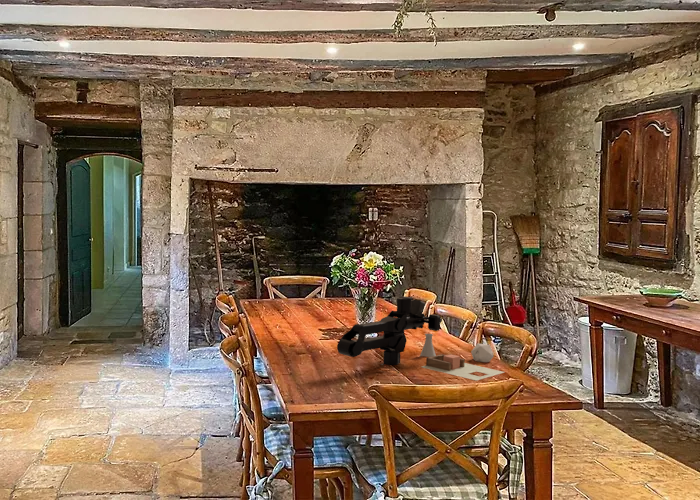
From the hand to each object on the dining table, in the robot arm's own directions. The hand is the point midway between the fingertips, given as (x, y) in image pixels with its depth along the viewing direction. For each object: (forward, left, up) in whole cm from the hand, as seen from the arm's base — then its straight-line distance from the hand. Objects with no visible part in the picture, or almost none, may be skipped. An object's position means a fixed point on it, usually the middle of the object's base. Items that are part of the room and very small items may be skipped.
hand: (433, 318), depth 292 cm
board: (-11, -24, -17) cm, 31 cm away
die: (+8, -20, -17) cm, 27 cm away
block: (-12, -19, -15) cm, 28 cm away
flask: (-2, 0, -17) cm, 17 cm away
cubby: (-12, -16, -15) cm, 26 cm away
